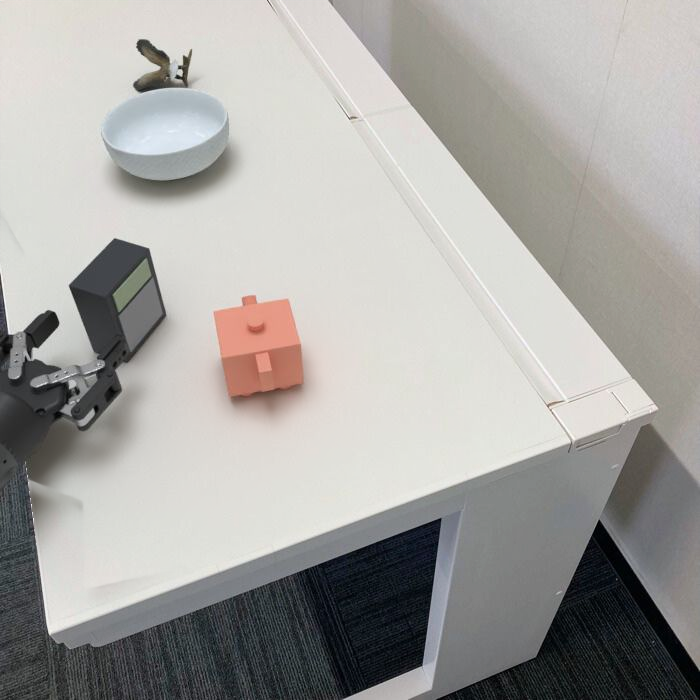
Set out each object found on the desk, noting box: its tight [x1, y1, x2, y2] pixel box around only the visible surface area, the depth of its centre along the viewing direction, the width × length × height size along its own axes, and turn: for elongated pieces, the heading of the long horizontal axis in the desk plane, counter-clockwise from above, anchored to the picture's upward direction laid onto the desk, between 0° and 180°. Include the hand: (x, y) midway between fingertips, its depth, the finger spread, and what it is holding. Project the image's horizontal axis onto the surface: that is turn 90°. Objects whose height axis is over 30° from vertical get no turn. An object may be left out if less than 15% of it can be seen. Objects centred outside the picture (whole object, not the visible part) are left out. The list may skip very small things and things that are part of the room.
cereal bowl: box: [100, 87, 230, 181], centre depth 106 cm, size 17×17×7 cm
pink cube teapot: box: [213, 294, 305, 398], centre depth 80 cm, size 8×12×8 cm, turn 14°
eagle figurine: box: [132, 38, 193, 91], centre depth 121 cm, size 8×7×9 cm
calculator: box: [68, 237, 167, 364], centre depth 83 cm, size 5×8×10 cm, turn 157°
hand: (88, 327), depth 79 cm, fingers open, 8 cm apart
